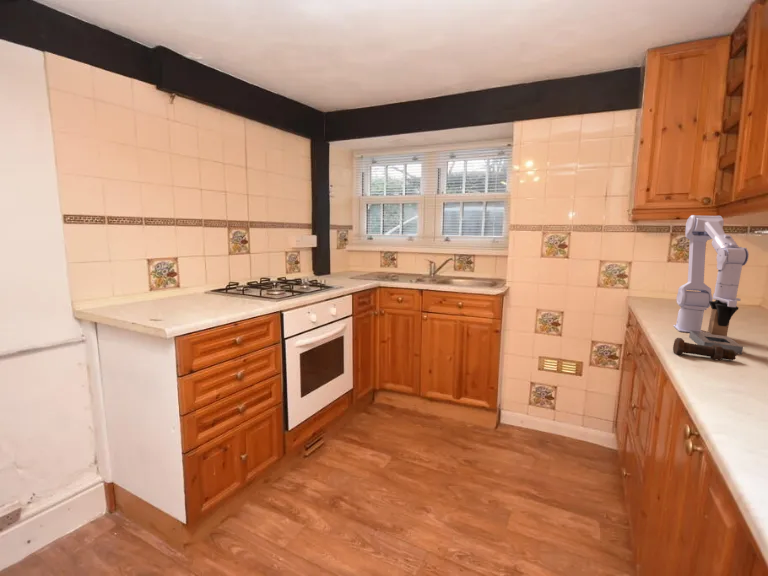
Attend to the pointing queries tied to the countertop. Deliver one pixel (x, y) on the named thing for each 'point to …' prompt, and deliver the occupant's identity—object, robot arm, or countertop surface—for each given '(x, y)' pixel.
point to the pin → (716, 325)
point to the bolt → (703, 350)
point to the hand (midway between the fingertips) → (719, 324)
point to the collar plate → (715, 341)
